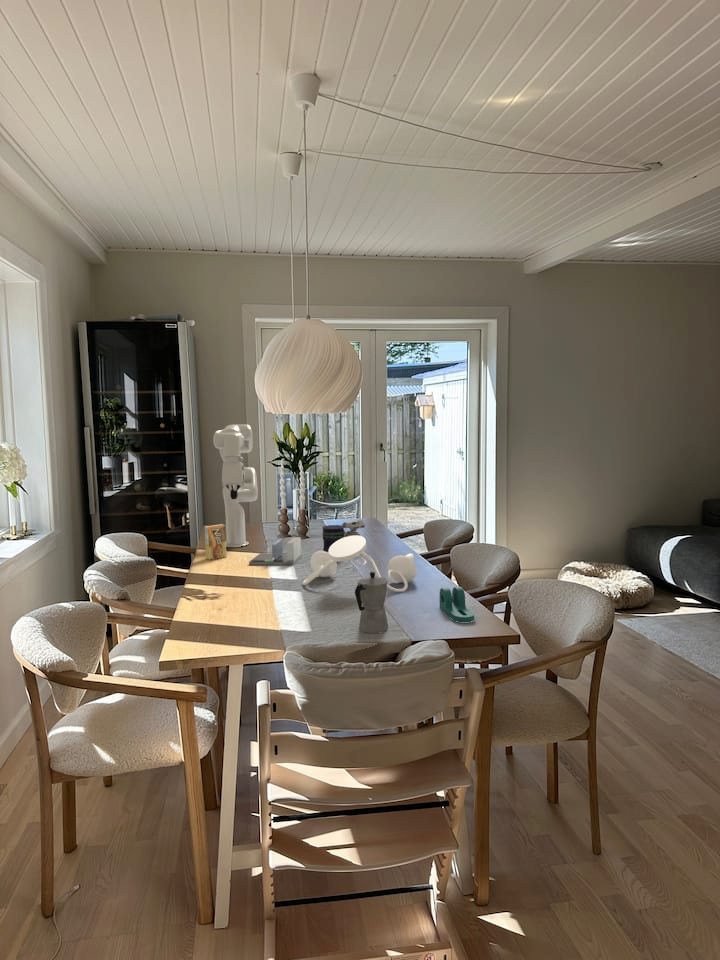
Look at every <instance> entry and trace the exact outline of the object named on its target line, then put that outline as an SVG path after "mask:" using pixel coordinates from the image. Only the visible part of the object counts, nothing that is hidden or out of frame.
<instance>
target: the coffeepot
mask: <svg viewBox="0 0 720 960" xmlns="http://www.w3.org/2000/svg"><path fill="white" fill-rule="evenodd" d="M375 575H376V572H375V571H371V572H369V576H370V577H368V578H362V579H359V580H358V581H357V585H356V588H355V589H354V595H355V599H356V602H357V607H358V610H359V611H360V616H359V626H358V630H360V632H362V633H366V634H379V633H380V632H381V633H384V632H386V631H387V630H388V628H389V624H388V618H387V613H386V607H385V602H386V597H387V596H386V595H387V590H388V588H387V584H388V580H387V578H386V577H385V578H384V577H382V578H378V577H375Z"/></svg>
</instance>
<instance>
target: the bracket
mask: <svg viewBox="0 0 720 960" xmlns="http://www.w3.org/2000/svg"><path fill="white" fill-rule="evenodd" d="M465 594H466V593H465V589H464V588H463V587H462V586H456V587H455V586H454V587H453V588H452V591H451V589H450V588H449V587H443V588H440V590H439V609H440V610H441V611H442V612H443V613H444V612H445V613H444V614H446V616H447V617H449V618H450V617H451V618H452V619H453V620H454V621H458V622H471V621H473V620H474V621H475V613H474V612H473V611H471V609H469V608H468V607H467V606H466V595H465ZM451 618H450V619H451ZM452 619H451V620H452ZM453 620H452V621H453ZM454 621H453V622H454Z"/></svg>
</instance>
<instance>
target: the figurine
mask: <svg viewBox="0 0 720 960" xmlns="http://www.w3.org/2000/svg"><path fill="white" fill-rule="evenodd" d="M341 526H344V537H348V536H353V535H358V536H361V534H360V533H358V531H357V530H358V529H359V530H360V529H363V528H365V527H366V524H365V522H364V520H363V519H356V520H355V519H354V520H350V521H349V520H348V521H346V522H343V523H342V524H341ZM347 529H349V530H347ZM366 542H367V539H366Z"/></svg>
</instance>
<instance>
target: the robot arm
mask: <svg viewBox="0 0 720 960" xmlns="http://www.w3.org/2000/svg"><path fill="white" fill-rule="evenodd" d="M212 438H213V439H212V441H213V446H214V447H215V448H216V449H218V450H219V454H220V457H221V460H222V461H223V463H222V471H221V482H222V497H223V501H224V512H225V532H226V548H242V547H241V546H243V547H247V546H249V545H248V544H250V543H249V541H246V540H247V539H246V520H245V518H246V517H245V515H246V514H245V510H244V508H243V506H242V505H241V504H240V503H249V502H250V503H251V502H256V501H257V499H258V496H259V488H258V479H257V476H258V475H257V471H256V470H255V468H254V467H252V466H244V463H243V462H242V461H244V457H242V456H241V454H245V453H246V454H248V453H250V452H252V451H253V447H254V444H253V441H254V440H253V430H252V428H251V426H250V425H249V424H247V423H244V424H242V423H240V424H239V423H238V424H228V425H226V426H225V427H224V429H220V430H216V431H215V432H214V435H213V437H212ZM246 545H247V546H246Z"/></svg>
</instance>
